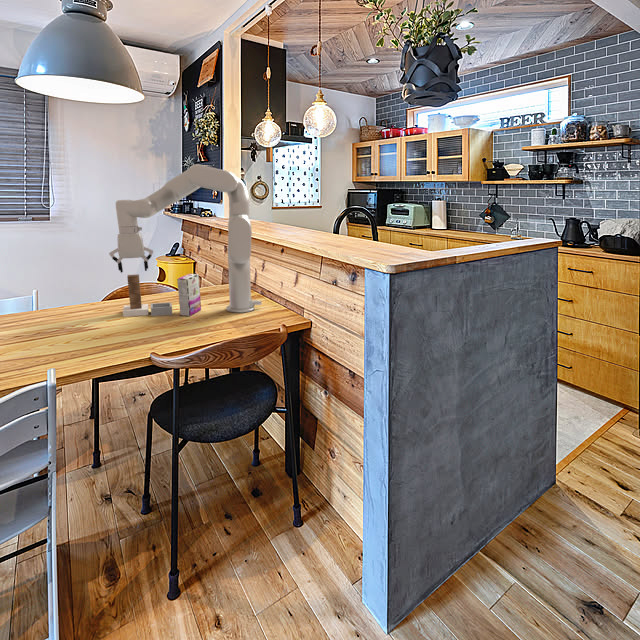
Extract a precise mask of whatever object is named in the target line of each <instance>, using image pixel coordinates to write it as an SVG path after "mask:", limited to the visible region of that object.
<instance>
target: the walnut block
mask: <svg viewBox="0 0 640 640" xmlns="http://www.w3.org/2000/svg"><path fill="white" fill-rule="evenodd" d="M126 278H127V287H128V297H129V305H130V309H139V308H142V296H141V295H142V294H141V293H142V292H141V284H140V274H127V276H126Z"/></svg>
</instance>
